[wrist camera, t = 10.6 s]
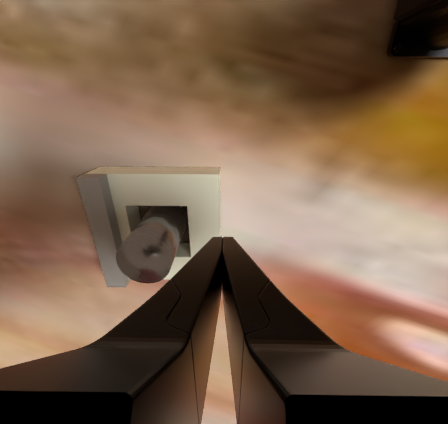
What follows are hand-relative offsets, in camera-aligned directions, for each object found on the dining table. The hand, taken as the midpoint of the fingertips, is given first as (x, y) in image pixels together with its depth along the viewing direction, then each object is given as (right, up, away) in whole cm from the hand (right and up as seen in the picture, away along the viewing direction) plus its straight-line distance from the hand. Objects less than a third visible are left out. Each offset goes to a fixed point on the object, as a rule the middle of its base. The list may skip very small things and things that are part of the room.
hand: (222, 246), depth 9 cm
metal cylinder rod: (-6, +1, +13) cm, 14 cm away
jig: (-6, +1, +13) cm, 14 cm away
